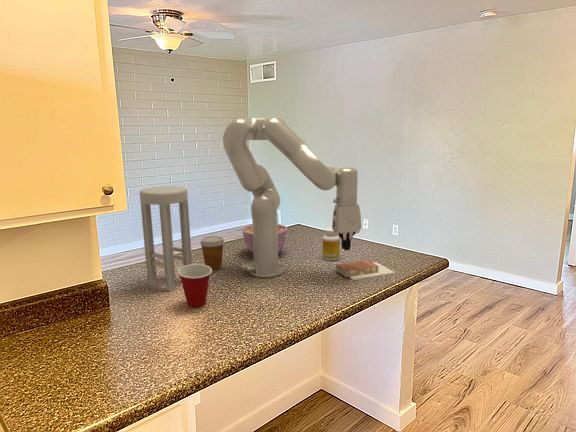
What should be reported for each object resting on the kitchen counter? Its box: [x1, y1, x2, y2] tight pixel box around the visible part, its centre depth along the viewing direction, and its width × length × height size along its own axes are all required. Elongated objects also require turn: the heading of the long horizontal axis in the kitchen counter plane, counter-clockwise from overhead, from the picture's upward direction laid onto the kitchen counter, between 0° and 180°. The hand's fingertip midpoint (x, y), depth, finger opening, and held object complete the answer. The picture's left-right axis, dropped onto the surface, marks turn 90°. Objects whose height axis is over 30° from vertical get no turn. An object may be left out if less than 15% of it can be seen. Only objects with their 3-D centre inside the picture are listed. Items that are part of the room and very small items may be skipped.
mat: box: [348, 261, 396, 281], centre depth 165 cm, size 18×13×1 cm
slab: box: [335, 259, 378, 278], centre depth 164 cm, size 2×8×14 cm
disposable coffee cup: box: [199, 235, 225, 271], centre depth 171 cm, size 10×10×12 cm
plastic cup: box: [177, 263, 213, 308], centre depth 137 cm, size 11×11×12 cm
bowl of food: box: [241, 223, 288, 254], centre depth 188 cm, size 20×20×12 cm
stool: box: [139, 185, 193, 292], centre depth 152 cm, size 16×16×35 cm
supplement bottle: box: [321, 227, 340, 261], centre depth 181 cm, size 7×7×13 cm
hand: (345, 249), depth 160 cm, fingers closed
